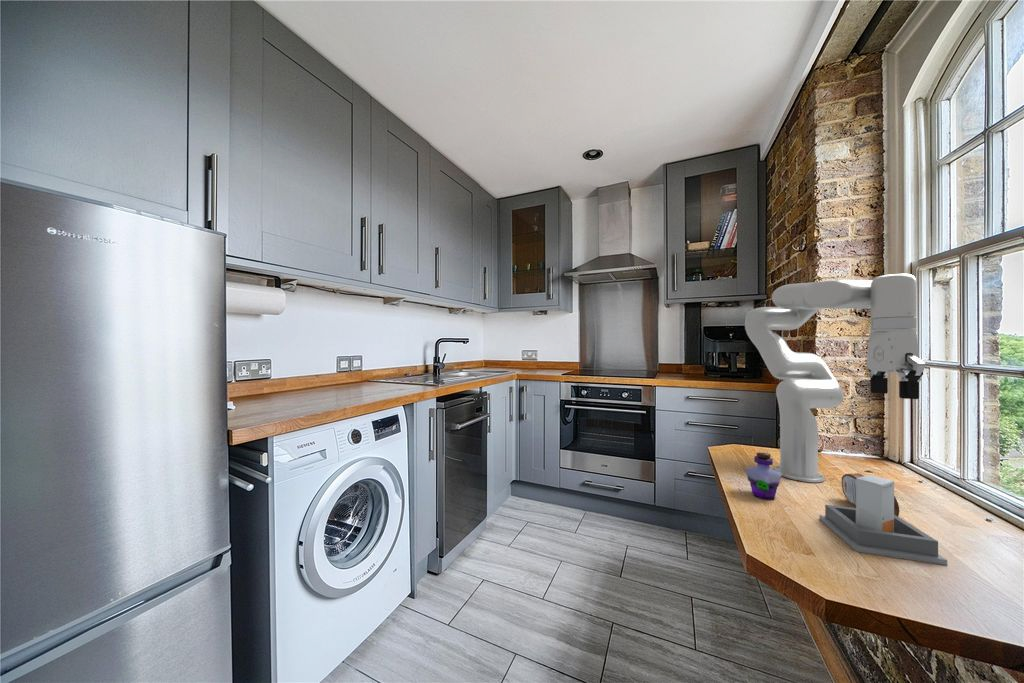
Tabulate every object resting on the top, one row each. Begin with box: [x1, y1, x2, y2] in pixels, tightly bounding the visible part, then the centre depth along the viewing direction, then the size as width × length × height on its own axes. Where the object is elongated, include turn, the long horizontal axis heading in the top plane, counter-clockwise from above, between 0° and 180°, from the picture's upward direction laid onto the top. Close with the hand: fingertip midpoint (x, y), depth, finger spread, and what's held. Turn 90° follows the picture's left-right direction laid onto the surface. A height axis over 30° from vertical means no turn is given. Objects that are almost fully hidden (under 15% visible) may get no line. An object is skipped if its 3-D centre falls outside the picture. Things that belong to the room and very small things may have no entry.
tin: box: [841, 472, 900, 517], centre depth 89 cm, size 15×3×8 cm, turn 168°
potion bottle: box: [745, 451, 782, 501], centre depth 97 cm, size 9×9×12 cm
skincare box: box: [855, 474, 895, 533], centre depth 76 cm, size 6×4×12 cm
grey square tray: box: [818, 504, 948, 566], centre depth 75 cm, size 14×14×4 cm
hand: (893, 395), depth 84 cm, fingers open, 9 cm apart
